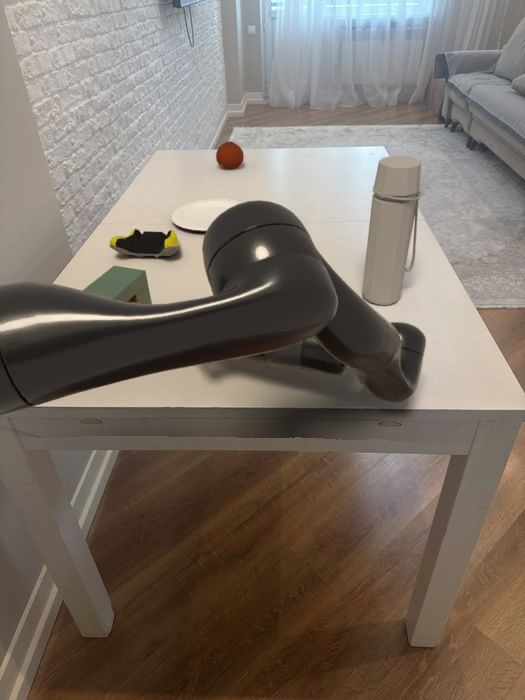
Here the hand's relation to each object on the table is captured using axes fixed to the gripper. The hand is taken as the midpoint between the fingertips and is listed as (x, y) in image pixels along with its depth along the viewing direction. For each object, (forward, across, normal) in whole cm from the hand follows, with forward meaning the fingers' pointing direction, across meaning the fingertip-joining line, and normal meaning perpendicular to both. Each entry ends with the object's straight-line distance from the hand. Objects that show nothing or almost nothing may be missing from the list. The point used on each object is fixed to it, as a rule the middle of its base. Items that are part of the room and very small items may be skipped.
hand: (170, 319), depth 75 cm
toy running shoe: (+24, -32, +8) cm, 41 cm away
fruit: (+31, -95, +8) cm, 101 cm away
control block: (+10, 0, +8) cm, 13 cm away
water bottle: (-29, -29, +8) cm, 42 cm away
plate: (+19, -55, +8) cm, 58 cm away
